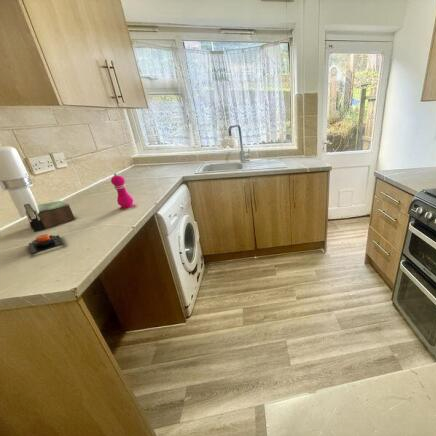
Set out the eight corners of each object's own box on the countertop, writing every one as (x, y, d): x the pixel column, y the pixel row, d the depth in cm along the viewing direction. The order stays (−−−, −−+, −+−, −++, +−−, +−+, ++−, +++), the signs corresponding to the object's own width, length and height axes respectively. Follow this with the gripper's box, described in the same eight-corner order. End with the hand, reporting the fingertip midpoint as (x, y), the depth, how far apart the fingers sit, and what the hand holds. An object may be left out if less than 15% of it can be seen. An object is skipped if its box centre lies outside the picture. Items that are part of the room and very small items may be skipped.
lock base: (65, 248, 95) (61, 239, 94) (33, 258, 89) (28, 248, 87) (60, 239, 102) (56, 231, 100) (31, 248, 96) (26, 239, 94)
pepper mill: (121, 207, 136) (108, 172, 127) (136, 205, 138) (124, 170, 130) (119, 212, 130) (105, 175, 121) (134, 209, 132) (122, 173, 124)
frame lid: (29, 214, 106) (23, 202, 104) (20, 210, 112) (15, 198, 110) (69, 205, 118) (65, 194, 116) (60, 201, 123) (56, 190, 121)
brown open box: (39, 230, 110) (32, 215, 107) (31, 225, 116) (23, 210, 113) (75, 220, 121) (69, 205, 118) (66, 215, 126) (60, 201, 123)
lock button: (51, 239, 94) (49, 235, 93) (38, 243, 92) (36, 239, 91) (49, 237, 96) (47, 233, 96) (37, 240, 94) (35, 236, 93)
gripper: (0, 182, 87) (24, 228, 94) (1, 189, 78) (27, 240, 85) (29, 178, 92) (50, 221, 100) (33, 184, 83) (56, 232, 90)
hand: (40, 230), depth 92 cm, fingers closed
